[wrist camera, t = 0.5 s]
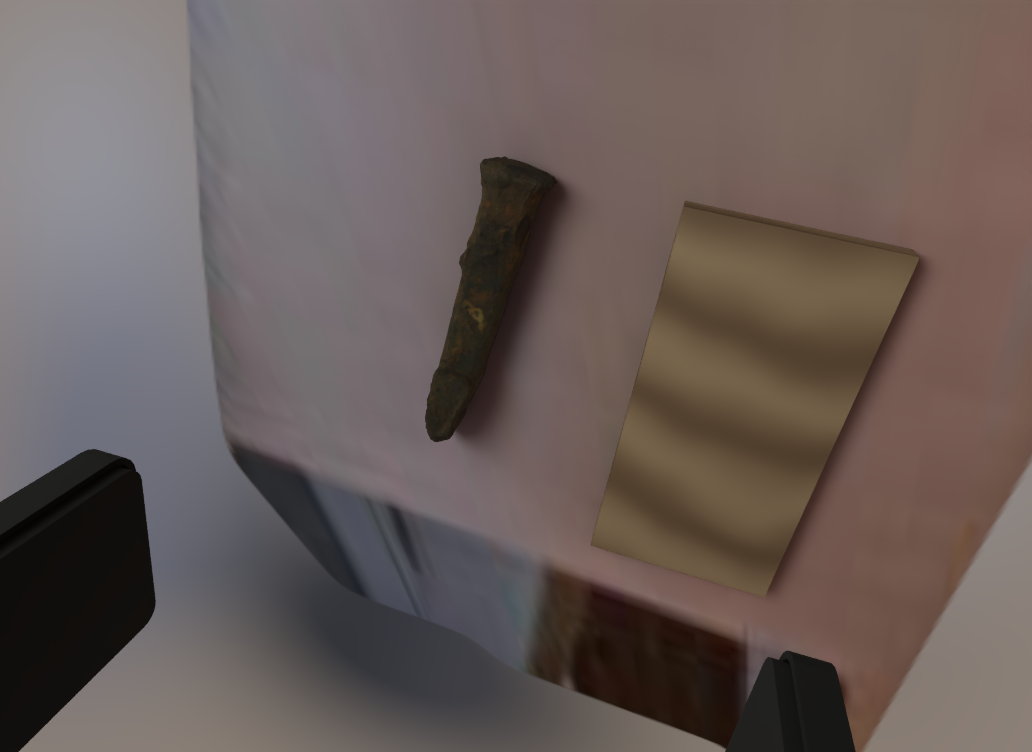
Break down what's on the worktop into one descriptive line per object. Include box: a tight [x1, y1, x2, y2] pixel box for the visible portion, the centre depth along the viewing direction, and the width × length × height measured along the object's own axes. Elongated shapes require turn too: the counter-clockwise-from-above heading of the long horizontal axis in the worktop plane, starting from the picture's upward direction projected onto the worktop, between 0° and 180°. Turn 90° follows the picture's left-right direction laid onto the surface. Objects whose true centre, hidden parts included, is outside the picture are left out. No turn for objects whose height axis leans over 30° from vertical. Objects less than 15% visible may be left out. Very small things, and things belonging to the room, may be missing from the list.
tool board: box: [591, 201, 920, 597], centre depth 41 cm, size 24×12×2 cm, turn 170°
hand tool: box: [425, 157, 557, 442], centre depth 41 cm, size 19×4×5 cm, turn 160°
